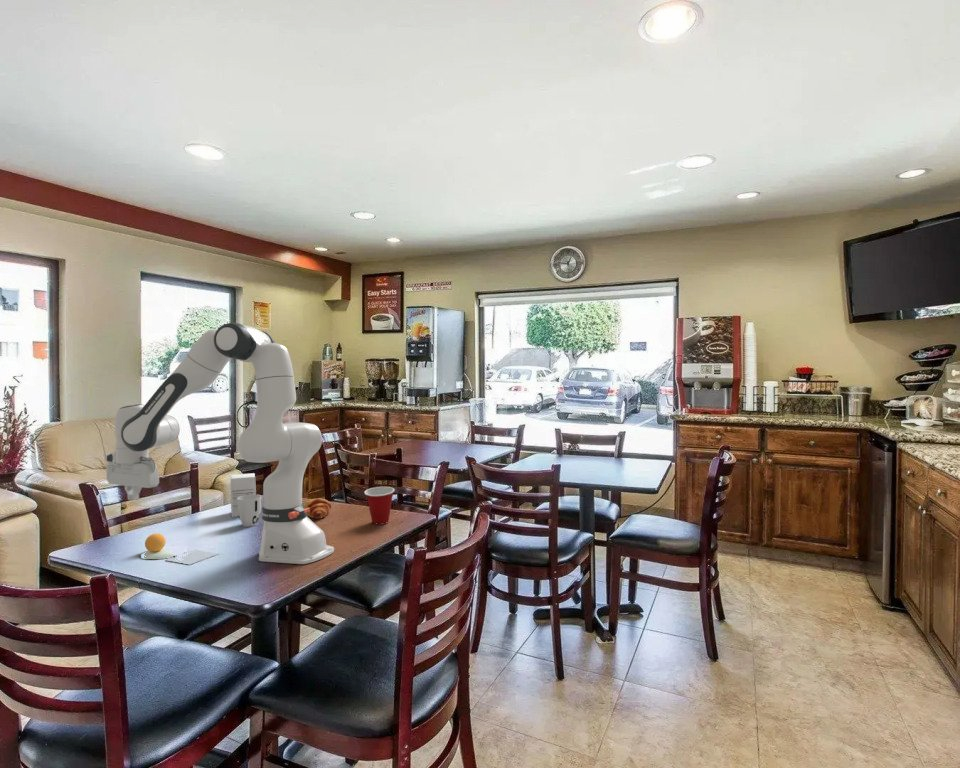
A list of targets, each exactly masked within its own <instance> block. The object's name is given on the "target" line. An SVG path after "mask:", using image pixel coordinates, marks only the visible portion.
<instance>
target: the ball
mask: <svg viewBox="0 0 960 768" xmlns="http://www.w3.org/2000/svg"><path fill="white" fill-rule="evenodd" d="M166 542H167V541H166V537H165V536H164V535H163V534H161V533H157V532H156V533H152V534H150V535H149V536H148V537H146V539H145V541H144V547H145V549H146V551H150V552H157V551H160V550H161V549H162V548H163V547H164V546H166Z"/></svg>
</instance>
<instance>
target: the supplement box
mask: <svg viewBox="0 0 960 768" xmlns="http://www.w3.org/2000/svg"><path fill="white" fill-rule="evenodd" d="M255 475H256V474H255V473H254V472H253V473H241V474H240V473H237V474H231V475H230V505H231V506H230V513H231V518H237V517H238V516H239V511H238V501H237V498H238V497H241V496H245V495H257V490H256V487H257V486H256V485H257V484H256V476H255ZM239 517H240V516H239Z"/></svg>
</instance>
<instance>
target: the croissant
mask: <svg viewBox="0 0 960 768" xmlns="http://www.w3.org/2000/svg"><path fill="white" fill-rule="evenodd" d="M304 507H305V509H306V508H309V509H308V510H310V511H308V510H307V511H308V512H306V513H307V517H308V516H309V517H308V518H312V519H314V518H315V520H317V519H322V518H321V517H323V518H325V517H326V516H328V514H329V513H330V510H331V509H332V504H331V503H330V502H329V501H328V500H327V499H324V498H320V497H319V498H318V497H317V498H316V497H315V498H312V499H309V500H308V501H306V502H305V503H304Z"/></svg>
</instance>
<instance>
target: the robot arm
mask: <svg viewBox="0 0 960 768" xmlns="http://www.w3.org/2000/svg"><path fill="white" fill-rule="evenodd" d="M233 359H234V360H238V361H240V362H243V363H244V362H245V363H251V364H252V366H253V367H254V374H255V385H256V402H257V403H256V404H257V405H256V409H255V410H256V411H255V414H254V416H253V418H252V421H251V422H250V424H249V425H248V426H247V427H246V428H245V429H244V430H243V431H242V432H241V434H240V436H239V437H238V441H237V451H238V453H239V455H240V457H241V458H242V459H243V460H244V461H245V462H248V463H258V464H259V463H262V464H263V463H271V462H278V464H277V467H276V468H275V470H274V471H273V472H272V473H270V474H269V475H267V477H265V479H264V481H263V484H262V487H263V488H262V489H263V490H262V491H263V492H262V493H263V498H262V499H263V506H261V519H262V520H263V525H262V531H261V532H262V533H261V541H260V547H259V552H258V561H259V562H266V563H278V564H279V563H281V564H296V565H306V564H310V563H314V562H316V561H317V562H318V561H319V560H322V559H324V558H327V557H329V555H331V554H333V553H334V551H335V547H334V546H333V545H328V544H327V541H326V534H325V532H324V530H322V529H321V528H320V526H318V525H317V524H315V522H314V521H312V519H310V517H308V516H307V513H306V512H308V511H310V510H308V509H309V508H306V509H305V507H304V506H305V503H303V482H304V481H303V479H304V475H305V472H306V469H307V467H308V464H309V462H310V461H311V459H312V458H313V456H314V455H316V453H318V452H319V450H320V449H321V446H322V444H323V436H322V433H321V430H320V429H319V427H318V426H317V425H315V424H314V423H308V422H289V423H284V422H283V419H284V416H285V414H286V412H287V411H289V410H290V409H292V407H294V406H295V404H296V401H297V393H296V383H295V375H294V369H293V364H292V363H293V362H292V359H291V356H290V352H289V350H288V348H287V347H286V346H285V345H283V344H280V343H276V342H275V340H274V338H273V337H272V336H271V335H270V334H269V333H268V332H266V331H264V330H260V329H257V328H255V327H253V326H250V325H247V324H241V323H239V322H227V323H224V324H221V326H219V327H218V328H217V329H208V330H206V331H205V332H204V333H203V334H202V335H201V336H200V337H199V338H198V339H197V340H196V342H194V343H193V345H192V346H191V347H190V348H189V349H188V352H187V353H186V355H185V356H184V357H183V359H182V360H181V361H180V363H179V364H178V365H177V367H176V368H175V369H174V370H173V372H172V373H171V374H169V376H168V377H167V378H166V379H165V380H164V381H163V382H162V384H161V385H160V386H159V387H158V388H157V390H156V391H155V392H154V393H153V394H152V396H150V398H149V400H148V401H147V402H146V403H145V404H133V405H125V406H122V407H120V408H118V409H117V411H116V414H115V419H114V436H115V438H116V439H115V440H116V441H115V442H116V443H115V445H114V446H115V448H114V450H115V451H112V452H111V453H108V454H106V455H104V456H105V457H104V458H105V462H106V465H105V466H106V467H105V469H106V472H105V474H106V475H105V476H106V480H107V482H108V484H109V485H118V486H124V491H125V493H126V495H127V500H129V501H138V500H139V499H140V493H141V491H142V488H144V489H150V488H156V487H158V486H159V484H160V476H159V469H158V465H157V464H156V461H155V460H154V459H153V458H152V457H150V456H149V454H150V453H149V450H150V449H151V448H156V447H161V446H164V445H167V444H171V443H173V442H174V441H176V440H177V439H178V437H179V434H180V429H181V428H180V424H179V422H178V420H177V419H176V418H175V417H174V416H171V415H168V414H169V412H170V411H171V410H172V409H173V408H174V406H176V404H177V403H178V402H179V401H181V400H182V399H184V398H186V397H187V396H189V395H191V394H194V393H197V392H200V391H203V390H205V389H207V388H209V387H210V386H211V385H212V384H213V383H214V382H215V381H216V380H217V378H218V377H219V376H220V374H221V373H222V371H224V368H225V367H226V365H227V364H228V362H230V361H231V360H233ZM307 510H308V511H307Z"/></svg>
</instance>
